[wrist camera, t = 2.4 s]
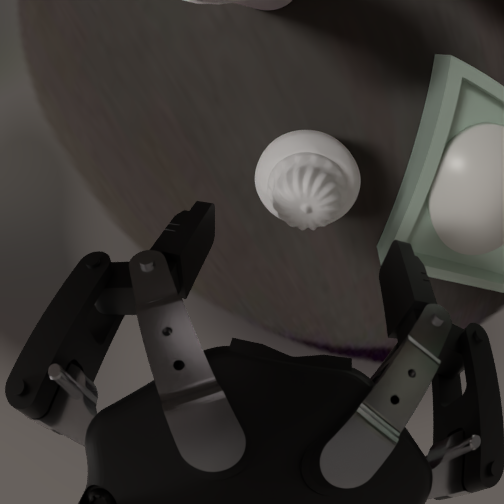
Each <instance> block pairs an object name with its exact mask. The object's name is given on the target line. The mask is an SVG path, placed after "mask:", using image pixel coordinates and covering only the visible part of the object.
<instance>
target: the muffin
mask: <svg viewBox="0 0 504 504" xmlns="http://www.w3.org/2000/svg"><path fill="white" fill-rule="evenodd" d="M360 184H361V178H360V172H359V168H358V166H357V163H356V161H355V159H354V158H353V156H352V154H351V153H350V152H349V150H348V149H347V148H346V147H345V146H344V145H343V144H342V143H341V142H340V141H338V140H337V139H336V138H334V137H332V136H330V135H328V134H326V133H323V132H320V131H315V130H297V131H292V132H289V133H286V134H283V135H281V136H280V137H278V138H277V139H275V140H274V141H273V142H271V143H270V144H269V145H268V147H267V148H266V149H265V150H264V152H263V153H262V155H261V157H260V159H259V161H258V164H257V167H256V171H255V186H256V190H257V193H258V195H259V197H260V199H261V201H262V202H263V204H264V205H265V207H266V208H267V209H268V210H269V211H270V212H271V213H272V214H274V215H275V216H276V217H278V218H280V219H281V220H283V221H285V222H287V224H288V225H289V226H291V227H296V226H297V227H298V228H299V229H300V230H305V229H306V228H310V229H311V230H315V229H316V228H317V227H320V226H323V227H325V226H326V225H327V224H329V223H332V222H334V221H336V220H337V219H339V218H341V217H342V216H343V215H345V214H346V213H347V212H348V211H349V210H350V208H351V207H352V206H353V204H354V202H355V201H356V199H357V196H358V193H359V190H360Z"/></svg>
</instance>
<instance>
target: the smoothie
mask: <svg viewBox="0 0 504 504" xmlns="http://www.w3.org/2000/svg"><path fill="white" fill-rule="evenodd" d="M184 1H188V2H192V3H196V4H226V3H236V4H240V5H244V6H248V7H251V8H255V9H259V10H275V9H279V8H282V7H284V6H286V5H288V4H289V3H290V2H291V1H292V0H184Z"/></svg>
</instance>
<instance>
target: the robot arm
mask: <svg viewBox="0 0 504 504" xmlns="http://www.w3.org/2000/svg"><path fill="white" fill-rule="evenodd" d="M214 236H215V206H214V204H213V203H207V202H200V201H197V202H196V203H195V204H194V205H193V207H192V208H191V210H190V211H186V210H184V211H182V212H180V213H179V214H177V215H176V216H175V217H174V218H173V219H172V220H171V222H170V224H168V226H167V227H166V228H165V230H164V231H163V233H162V234H161V235H160V237H159V238H158V239H157V241H156V242H155V243H154V245H153V246H152V248H151V249H150V250H146V251H142V252H139V253H137V254H136V255H135V256H133V257H132V259H131V260H130V262H111V260H110V258H109V256H108V254H106V253H104V252H93V253H90V254H88V255H86V256H85V257H83V258H82V259H81V260H80V262H79V263H78V264H77V266H76V267H75V268H74V270H73V271H72V272H71V274H70V275H69V277H68V278H67V279H66V281H65V282H64V284H63V285H62V287H61V288H60V289H59V291H58V292H57V294H56V295H55V297H54V298H53V300H52V301H51V303H50V304H49V306H48V307H47V309H46V311H45V312H44V314H43V315H42V317H41V319H40V320H39V322H38V323H37V325H36V327H35V329H34V330H33V332H32V334H31V335H30V337H29V339H28V341H27V343H26V344H25V346H24V348H23V350H22V351H21V353H20V355H19V357H18V359H17V361H16V363H15V365H14V367H13V369H12V371H11V373H10V375H9V377H8V379H7V382H6V387H5V393H6V397H7V400H8V402H9V403H10V404H11V406H13V407H14V408H15V409H17V410H19V411H20V412H22V413H23V414H25V416H27V417H28V418H30V419H31V420H33V421H34V422H36V423H38V424H40V425H41V426H43V427H45V428H47V429H50V430H52V431H54V432H56V433H58V434H61V435H64V436H66V437H68V438H70V439H72V440H74V441H75V442H77V443H79V444H81V445H83V446H85V449H86V455H87V464H88V478H87V485H86V489H85V491H84V494H83V495H82V497H81V499H80V501H79V503H78V504H425V502H426V500H427V499H432V498H434V499H436V500H441V499H447V498H452V497H457V496H461V495H465V494H469V493H473V492H477V491H480V490H483V489H487V488H490V487H493V486H494V485H496V484H497V482H498V481H499V480H500V478H501V476H502V473H503V470H504V429H503V416H502V407H501V398H500V391H499V385H498V379H497V373H496V369H495V363H494V359H493V354H492V350H491V346H490V343H489V338H488V336H487V333H486V332H485V330H484V329H483V328H482V327H481V326H480V325H478V324H476V323H470V324H469V325H468V326H467V327H466V328H465V329H462V328H460V327H458V326H456V325H454V324H452V320H451V317H450V315H449V313H448V312H447V311H446V310H445V309H444V308H443V307H442V306H440V305H438V304H437V302H436V299H435V296H434V293H433V290H432V287H431V283H430V282H429V278H428V275H427V272H426V269H425V266H424V264H423V263H422V262H421V260H420V259H419V258H418V256H415V254H414V252H413V249H412V246H411V244H410V243H407V242H403V241H399V240H394V241H393V242H392V244H391V246H390V248H389V250H388V252H387V255H386V257H385V259H384V261H383V263H382V265H381V268H380V272H379V280H380V286H381V292H382V298H383V304H384V311H385V318H386V325H387V333H388V337H389V338H397V340H398V343H397V344H396V345H395V346H394V348H393V349H392V351H391V352H390V353H389V355H388V356H387V357H386V359H385V360H384V362H383V363H382V364H381V366H380V367H379V368H378V370H377V371H376V372H375V374H374V375H373V376H372V377H371V378H369V377H367V376H366V375H365V374H363V373H362V372H360V371H358V370H357V369H355V368H352V358H344V357H336V356H329V355H316V356H302V357H292V356H289V355H286V354H284V353H282V352H279V351H277V350H275V349H272V348H270V347H268V346H266V345H263V344H259V343H254V342H250V341H245V340H240V339H236V338H232V341H231V344H230V346H221V347H215V348H211V349H207V350H204V351H203V350H202V347H201V345H200V342H199V340H198V338H197V335H196V333H195V330H194V328H193V326H192V323H191V321H190V318H189V315H188V313H187V310H186V308H185V305H184V303H183V300H182V298H184V299H186V298H187V296H188V294H189V292H190V290H191V288H192V286H193V284H194V282H195V279H196V277H197V275H198V273H199V271H200V269H201V267H202V265H203V263H204V261H205V259H206V257H207V255H208V253H209V251H210V249H211V247H212V244H213V241H214ZM125 315H137V318H138V322H139V326H140V330H141V334H142V338H143V342H144V346H145V350H146V353H147V357H148V361H149V364H150V367H151V371H152V374H153V377H154V380H153V381H152V382H150V383H148V384H147V385H145V386H143V387H142V388H140V389H138V390H137V391H135V392H133V393H132V394H130V395H128V396H126V397H124V398H122V399H121V400H119V401H117V402H116V403H114V404H112V405H110V406H108V407H106V408H105V409H103V410H101V411H100V412H99V413H98V414H97V410H96V404H97V399H98V391H97V388H96V386H95V384H94V383H93V382H94V380H95V377H96V375H97V373H98V370H99V368H100V366H101V364H102V361H103V359H104V357H105V355H106V353H107V351H108V348H109V346H110V344H111V342H112V340H113V338H114V336H115V334H116V331H117V330H118V328H119V325H120V323H121V321H122V319H123V317H124V316H125ZM463 370H465V375H466V382H467V386H466V390H465V392H464V394H463V395H462V389H461V380H460V373H461V372H462V371H463ZM431 381H432V392H433V421H434V423H433V425H434V426H433V429H434V430H433V445H432V447H431V448H430V450H429V453H428V455H427V456H424V454H423V453H422V451H421V450H420V448H419V447H418V445H417V444H416V442H415V441H414V439H413V438H412V436H411V435H410V433H409V432H408V430H407V429H406V428H405V426H406V424H407V422H408V421H409V419H410V418H411V416H412V415H413V413H414V411H415V410H416V408H417V406H418V404H419V403H420V401H421V399H422V397H423V396H424V394H425V392H426V390H427V389H428V387H429V385H430V383H431Z"/></svg>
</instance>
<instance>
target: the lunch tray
mask: <svg viewBox="0 0 504 504" xmlns="http://www.w3.org/2000/svg"><path fill="white" fill-rule="evenodd" d="M394 240H399V241H403V242H407V243H410V244H411V246H412V249H413V252H414V254H415V256H418V258H419V259H420V260H421V262H422V263H423V264H424V266H425V269H426V272H427V275H428V277H432V278H437V279H442V280H447V281H451V282H456V283H461V284H465V285H470V286H475V287H479V288H484V289H488V290H493V291H497V292H502V293H504V86H502V85H501V84H499V83H498V82H496V81H495V80H493V79H492V78H490V77H489V76H487V75H485V74H484V73H482V72H481V71H479V70H477V69H476V68H474V67H472V66H470V65H469V64H467V63H465V62H463V61H461V60H460V59H458V58H456V57H454V56H452V55H441V54H435V57H434V63H433V68H432V74H431V79H430V84H429V89H428V93H427V98H426V102H425V106H424V110H423V114H422V118H421V122H420V126H419V129H418V133H417V137H416V140H415V143H414V147H413V150H412V153H411V157H410V160H409V163H408V166H407V169H406V172H405V175H404V178H403V181H402V184H401V186H400V189H399V192H398V195H397V197H396V200H395V203H394V205H393V208H392V211H391V213H390V216H389V218H388V221H387V223H386V226H385V228H384V230H383V233H382V235H381V238H380V240H379V242H378V245H377V250H378V255H379V259H380V264H381V265H382V263H383V261H384V259H385V257H386V255H387V252H388V250H389V248H390V246H391V244H392V242H393V241H394Z"/></svg>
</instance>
